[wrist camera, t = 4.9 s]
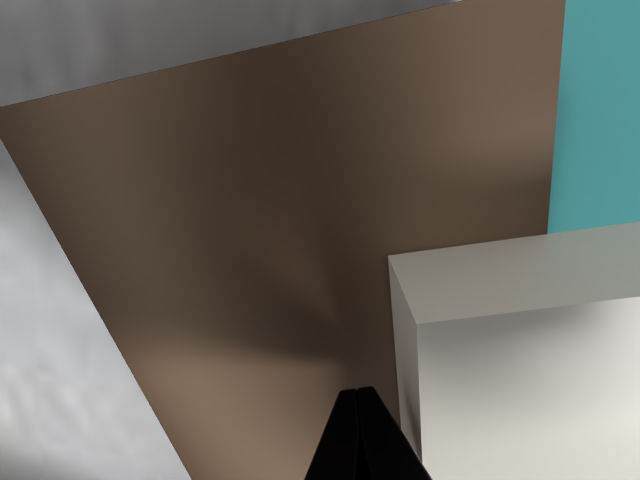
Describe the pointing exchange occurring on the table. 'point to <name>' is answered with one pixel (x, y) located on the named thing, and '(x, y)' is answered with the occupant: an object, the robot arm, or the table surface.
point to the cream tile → (522, 356)
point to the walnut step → (290, 209)
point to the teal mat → (597, 117)
